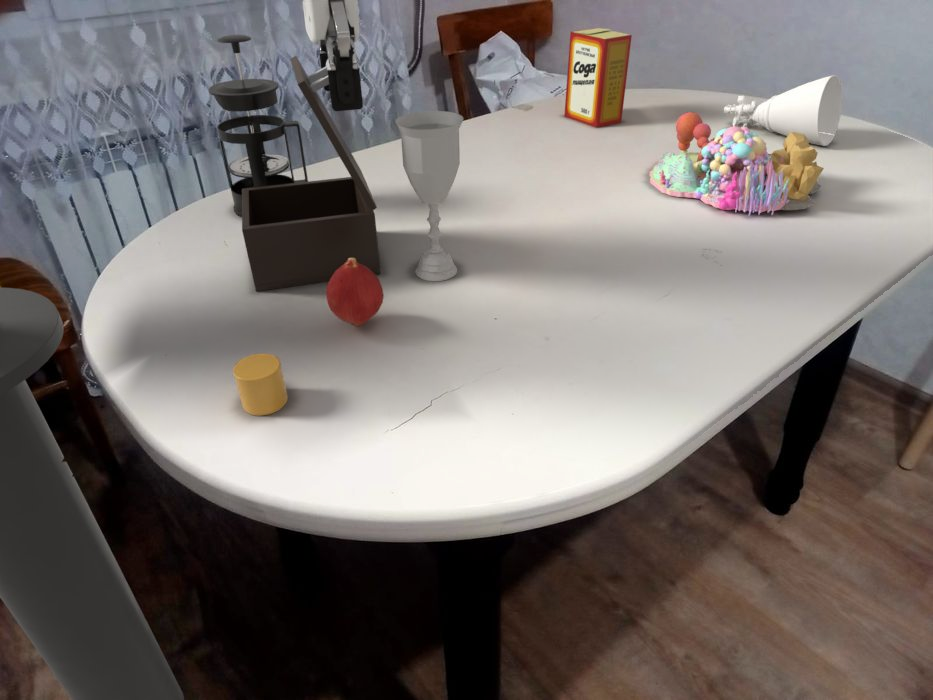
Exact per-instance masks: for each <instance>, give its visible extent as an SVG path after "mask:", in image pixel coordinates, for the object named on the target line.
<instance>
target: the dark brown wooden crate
mask: <svg viewBox="0 0 933 700" xmlns="http://www.w3.org/2000/svg"><path fill="white" fill-rule="evenodd" d="M241 232H242V236H243V240H244V244H245V249H246V253H247V258H248V263H249V267H250V271H251V275H252V280H253V284H254V289H255V291H256V292H262V291H263V292H264V291H269V290H276V289H277V290H278V289H284V288H290V287H296V286H305V285H312V284H318V283H319V284H320V283H327V282H329V281H330V279H331V277H332V276H333V274H334V272H335V271H336V270H337V269H338V268H340V267H341V266H342V265H344V264H345V263H346V262H347V260H348V259H349V258H355V259H356V261H357V263H359V264H362V265H364V266H366V267H367V268H369V269H370V270H371V271H372V272H373V273H374V274H375V275H376V276H377V275H381V263H380V253H379V242H378V233H377V221H376V213H375V211H374V210H373V211H371V210H370V208H369V207H368V205H367V203H366V201H365V200H364V198H363V196H362V194H361V193H360V191H359V189H358V188H357V186H356V184H355V182H354V181H353V179H352V177H351V176H346V177H337V178H329V179H321V180H320V179H318V180H308V182H300V183H290V184H281V185H272V186H263V187H254V188H244V189H242V217H241Z"/></svg>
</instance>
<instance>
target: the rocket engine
mask: <svg viewBox="0 0 933 700" xmlns="http://www.w3.org/2000/svg"><path fill="white" fill-rule="evenodd" d="M842 87H843V86H842V82H841V80H840V77H838V76H837V74H832V75H829V76H824V77H821V78H818V79H815V80H812V81H809V82H807V83H804V84H800V85H799V86H796V87H793V88H791V89H789V90H786V91H784V92H782V93H779V94H778V95H777V94H776V95H773V96H771V97H770V98H768V99H767V100H765V101H762V102H761V103H760V104H758V105H757V101H756V100H752V101H751V104H750V103H749V100H748V99H747V97H746V96H745V95H738V96H737V99H736V101H737V104H738V105H736V104H735V103H733V104H732V105H730V104H729V103H728V104H727V105H726V106H724V108H723V113H724V114H735V116H734V117H733V121H732V123H731V125H732V126H738V125H740V124H743V125H742V126H741V127H740V128H741V129H742V128H743V127H748V125H751V126H754V125H756V124H758V125H759V126H761V127H764V128H765V129H767V130H768V131H769V132H770V133H774V132H775V133H778V134H780V135H782V136H785V137H787V136H788V135H789V134H790V132H794V133H800V134H804V135H805V136H806V137H807V139H808V142H809V144H812V145H816V146H822V147H827V146H829V145H830V143H832V141H833V139H834V138H835V135H836V133H837V131H838V128H839V124H840V119H841V115H842V109H843V88H842ZM819 132H825V133H831V134H835V135H834V136H833V135H828V134H823V133H819Z"/></svg>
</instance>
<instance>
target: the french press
mask: <svg viewBox="0 0 933 700" xmlns="http://www.w3.org/2000/svg"><path fill="white" fill-rule="evenodd" d="M251 40H252V37H251V36H250V35H245V34H228V35H223V36H221V37H219V38H217V39H216V42H218V43H222V44H231V49H232V54H235V57H236V64H237V67H238V72H239V77H240V79H234V80H232V79H231V80H227V81H223V82H219V83H215V84H214V85H213V84H212V85H211V86H210V87H209V88H208V93H209V95H211V96H213V97H214V99H215V101H216V102H217V104H218V105H219V106H220V108H221V109H222V110H225V111H227V112H246V113H247V115H242V116H236V117H232V118H228V119H226V120H223V121H221V122H219V124H217V125H216V130H217V134H218V138H219V143H220V148H221V153H222V158H223V161H224V166H225V170H226V174H227V178H228V179H227V180H228V183H229V187H230V192H231V197H232V201H233V213H235V215H236V216H238V217H239V218H242V189H244V188H254V187H263V186H272V185H281V184H290V183H300V182H309V179H308V178H309V177H308V171H307V166H306V165H307V164H306V159H305V152H304V145H303V139H302V133H301V126H300V122H299V121H298V120H287V121H286V120H285V119H284V118H282V117H280V116H276V115H270V114H251V111H252V112H253V111H259V110H262V109H263V110H264V109H267V108H270V107H273V106H274V105H276V104H277V103H278V101H279V100H278V95H277V91H278V89H279V88H280V87H279V83H278V82H277V81H274V80H272V79H264V78H244V74H243V69H242V65H241V59H240V53H241V47H240V43H246V42H249V41H251ZM262 125H263V126H264V125H265V126H266V125H267V126H275V128H272V129H268V130H264V131H262V128H261V126H262ZM240 127H247V133H246V132H245V133H234V132H228V131H230V130H233V129H236V128H240ZM290 127H291V128H292V127H296V130H297V137H298V143H299V148H300V155H301V156H300V157H301V162H302V169H303V175H304V179H296V180H295V176H294V170H293V169H294V168H293V164H292V158H291V151H290V146H289V140H288V133H287V128H290ZM282 136H284V138H285V145H286V151H287V157H288V158H287V157H286V156H284V155H280V154H271V153H270V154H268V153H266V150H265V145H264V142H270V141H274V140H277V139H279V138H281V137H282ZM224 143H228V144H237V145H245V149H246V154H247V156H243V157H241V158H237V159H235V160H233V161H232V162H230V163H229V162H228V158H227V153H226V149H225V144H224ZM287 169H289V170H290V174H291V175H290V176H288V175H284V174H282V173H283V172H285V171H286V170H287ZM232 176H234V177H237V178H241V179H239V180H237V181H235V182H234V183H233V180H232Z"/></svg>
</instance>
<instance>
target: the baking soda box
mask: <svg viewBox="0 0 933 700" xmlns="http://www.w3.org/2000/svg"><path fill="white" fill-rule="evenodd" d="M631 44H632V34H629V33H624V32H619V31H615V30H612V29H611V28H601V27H594V28H586V29H580V30H573V31H570V34H569V45H568V46H569V47H568V48H569V49H568V60H567V73H566V89H565V103H564V116H563V117H565V118H568V119H571V120H574V121H577V122H579V123H582V124H585V125H588V126H591V127H594V128H596V129H597V128H601V127H607V126H610V125H614V124H618V123H622V121H623V111H624V102H625V95H626V88H627V87H626V86H627V79H628V78H627V77H628V69H629V62H630V53H631V46H632V45H631Z"/></svg>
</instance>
